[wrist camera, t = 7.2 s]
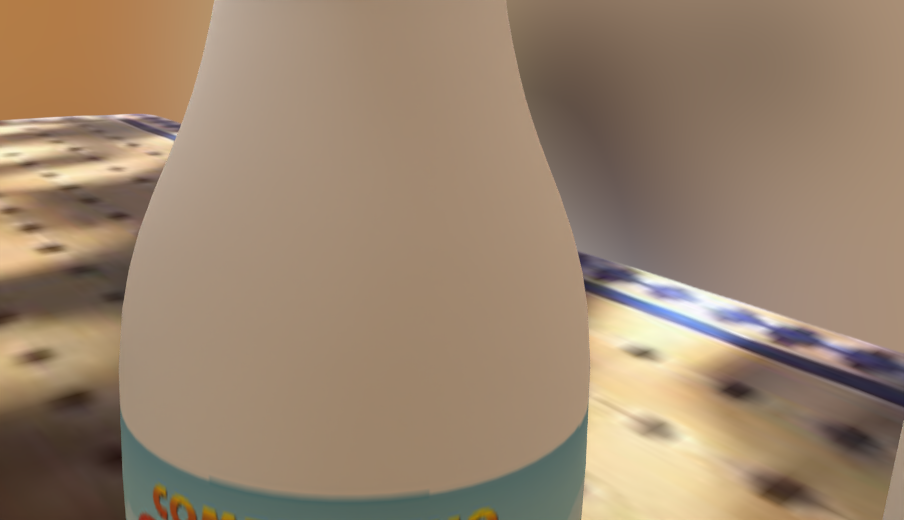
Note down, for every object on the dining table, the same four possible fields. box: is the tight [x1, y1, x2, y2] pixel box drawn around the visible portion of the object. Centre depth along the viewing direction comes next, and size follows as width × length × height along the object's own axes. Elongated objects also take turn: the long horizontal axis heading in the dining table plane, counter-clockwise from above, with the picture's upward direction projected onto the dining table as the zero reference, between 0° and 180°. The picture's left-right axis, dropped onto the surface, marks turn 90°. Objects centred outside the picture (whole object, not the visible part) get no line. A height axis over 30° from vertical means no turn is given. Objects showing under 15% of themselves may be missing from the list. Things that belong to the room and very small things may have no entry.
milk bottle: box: [119, 0, 590, 520], centre depth 15 cm, size 8×8×20 cm
